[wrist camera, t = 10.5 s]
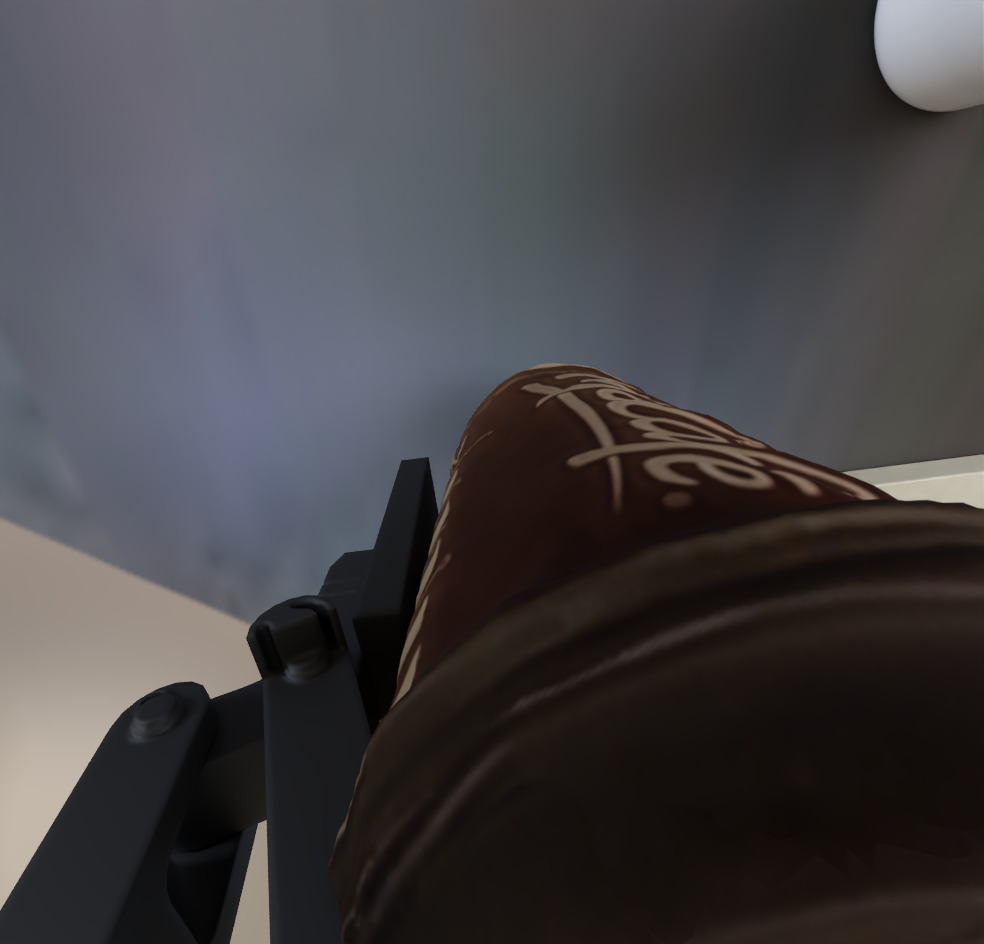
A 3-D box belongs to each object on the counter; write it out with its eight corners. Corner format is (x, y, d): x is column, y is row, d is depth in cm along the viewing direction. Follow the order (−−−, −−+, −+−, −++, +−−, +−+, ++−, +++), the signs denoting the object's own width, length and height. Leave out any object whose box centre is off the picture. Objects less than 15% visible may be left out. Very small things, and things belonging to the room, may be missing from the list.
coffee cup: (686, 571, 17) (1189, 1296, 5) (445, 599, 17) (399, 1393, 5) (703, 305, 14) (2371, 675, 2) (399, 340, 14) (-66, 963, 2)
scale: (1175, 429, 20) (1287, 457, 18) (1047, 696, 26) (1115, 748, 24) (735, 484, 20) (779, 521, 17) (710, 740, 26) (739, 798, 24)
